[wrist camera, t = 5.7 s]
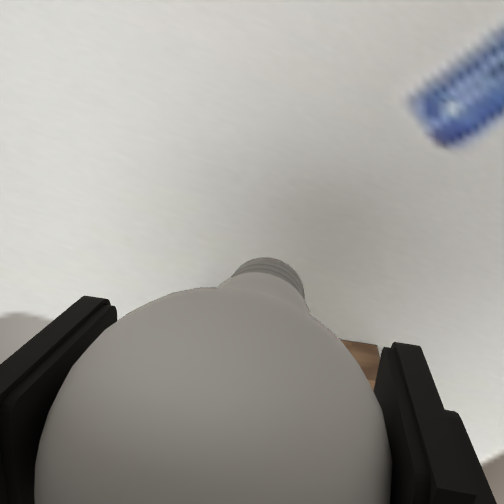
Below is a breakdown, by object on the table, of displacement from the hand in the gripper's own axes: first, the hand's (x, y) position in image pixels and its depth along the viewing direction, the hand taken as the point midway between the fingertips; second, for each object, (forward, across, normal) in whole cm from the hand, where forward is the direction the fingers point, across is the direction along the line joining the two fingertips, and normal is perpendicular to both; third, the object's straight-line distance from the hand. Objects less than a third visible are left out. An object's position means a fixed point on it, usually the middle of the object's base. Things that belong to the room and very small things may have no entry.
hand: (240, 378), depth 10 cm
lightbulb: (+6, 0, 0) cm, 6 cm away
